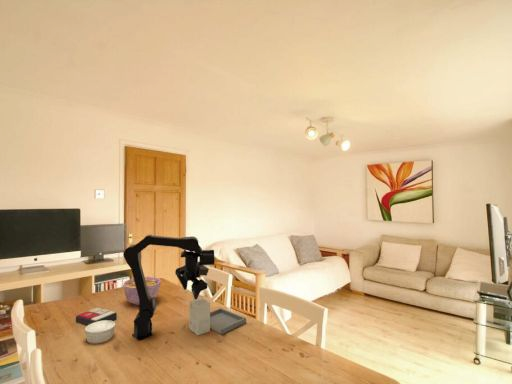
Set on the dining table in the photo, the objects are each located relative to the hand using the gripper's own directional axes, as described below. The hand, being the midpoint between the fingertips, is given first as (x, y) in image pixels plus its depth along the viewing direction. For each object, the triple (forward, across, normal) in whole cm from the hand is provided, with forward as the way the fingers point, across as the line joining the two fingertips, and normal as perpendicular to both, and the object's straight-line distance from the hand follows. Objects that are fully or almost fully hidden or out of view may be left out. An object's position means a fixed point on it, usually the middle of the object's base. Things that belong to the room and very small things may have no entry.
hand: (190, 294), depth 130 cm
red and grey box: (+19, +31, +32) cm, 49 cm away
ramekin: (+14, +13, +36) cm, 40 cm away
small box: (+13, -10, +1) cm, 16 cm away
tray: (+14, -11, -11) cm, 21 cm away
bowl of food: (+25, +39, +7) cm, 46 cm away
